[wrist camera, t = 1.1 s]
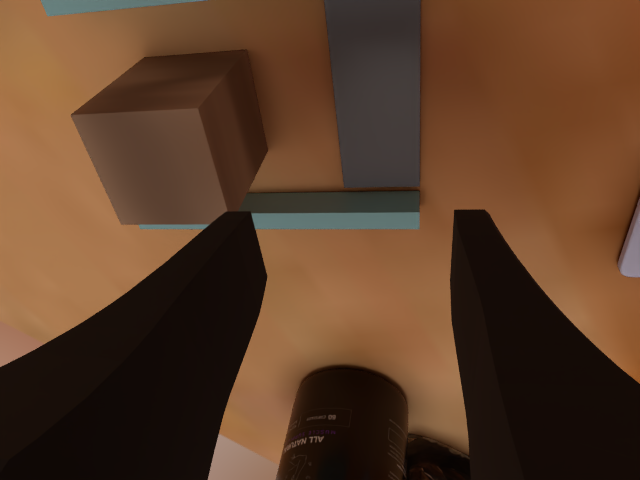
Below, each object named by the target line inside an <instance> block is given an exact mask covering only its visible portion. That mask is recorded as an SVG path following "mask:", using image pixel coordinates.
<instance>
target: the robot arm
mask: <svg viewBox="0 0 640 480" xmlns="http://www.w3.org/2000/svg"><path fill="white" fill-rule="evenodd" d="M618 268H619V270H620V272H621V274H622V275H624V276H627V277H640V199H639V202H638V205H637V208H636V210H635V213H634V216H633V219H632V222H631V225H630V228H629V231H628V234H627V237H626V240H625V243H624V246H623V249H622V252H621V255H620V258H619V261H618ZM266 281H267V273H266V269H265V266H264V262H263V258H262V254H261V250H260V246H259V242H258V238H257V234H256V230H255V226H254V222H253V218H252V214H251V211H226V212H225V213H223V214H222V215H221V216H219V217H218V218H217V219H216V220H214V221H213V222H212V223H211V224H210V225H209V226H207V227H206V228H205V229H204V230H203V231H202V232H200V233H199V234H198V235H197V236H196V237H195V238H194V239H192V240H191V241H190V242H189V243H188V244H187V245H185V246H184V247H183V248H182V249H181V250H179V251H178V252H177V253H176V254H175V255H174V256H172V257H171V258H170V259H169V260H168V261H167V262H165V263H164V264H163V265H162V266H160V267H159V268H158V269H156V270H155V271H154V272H153V273H151V274H150V275H149V276H147V277H146V278H145V279H144V280H142V281H141V282H140V283H138V284H137V285H136V286H135V287H133V288H132V289H131V290H130V291H128V292H127V293H125V294H124V295H123V296H121V297H120V298H118V299H117V300H116V301H114V302H113V303H111V304H110V305H108V306H107V307H105V308H104V309H102V310H101V311H99V312H98V313H96V314H95V315H93V316H92V317H90V318H89V319H87V320H85V321H84V322H82V323H81V324H79V325H77V326H76V327H74V328H72V329H70V330H69V331H67V332H65V333H63V334H62V335H60V336H58V337H56V338H55V339H53V340H51V341H49V342H47V343H46V344H44V345H42V346H40V347H39V348H37V349H35V350H33V351H31V352H30V353H28V354H26V355H24V356H22V357H20V358H18V359H16V360H14V361H12V362H10V363H8V364H6V365H4V366H2V367H0V480H208V476H209V471H210V467H211V463H212V458H213V454H214V449H215V446H216V442H217V438H218V434H219V430H220V426H221V422H222V418H223V415H224V411H225V408H226V405H227V402H228V399H229V396H230V393H231V390H232V388H233V385H234V382H235V380H236V377H237V374H238V371H239V369H240V366H241V363H242V361H243V358H244V355H245V353H246V350H247V347H248V345H249V342H250V339H251V336H252V333H253V331H254V328H255V325H256V322H257V319H258V317H259V313H260V309H261V305H262V301H263V296H264V291H265V286H266ZM450 290H451V316H452V326H453V333H454V340H455V346H456V353H457V359H458V365H459V372H460V378H461V385H462V391H463V397H464V404H465V410H466V418H467V427H468V438H469V455H470V473H471V480H640V384H639V383H638V382H637V381H635V380H634V379H633V378H632V377H631V376H629V375H628V374H627V373H626V372H624V371H623V370H622V369H621V368H619V367H618V366H617V365H616V364H615V363H614V362H613V361H612V360H610V359H609V358H608V357H607V356H606V355H605V354H604V353H603V352H602V351H600V350H599V349H598V348H597V347H596V346H595V345H594V344H593V343H592V342H591V341H590V340H589V339H588V338H587V337H586V336H585V335H584V334H583V333H582V332H581V331H580V330H579V329H578V328H577V327H576V326H575V325H574V324H573V323H572V322H571V321H570V320H569V319H568V318H567V317H566V316H565V315H564V314H563V313H562V312H561V311H560V309H559V308H558V307H557V306H556V305H555V304H554V303H553V302H552V300H551V299H550V298H549V297H548V296H547V295H546V294H545V292H544V291H543V290H542V289H541V288H540V286H539V285H538V284H537V283H536V282H535V280H534V279H533V278H532V276H531V275H530V274H529V273H528V271H527V270H526V269H525V267H524V266H523V265H522V263H521V262H520V261H519V259H518V258H517V257H516V255H515V254H514V253H513V251H512V250H511V248H510V247H509V245H508V244H507V242H506V241H505V239H504V238H503V236H502V235H501V233H500V232H499V230H498V228H497V227H496V225H495V223H494V222H493V220H492V218H491V216H490V214H489V213H488V212H487V211H485V210H454V224H453V241H452V258H451V275H450Z"/></svg>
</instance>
